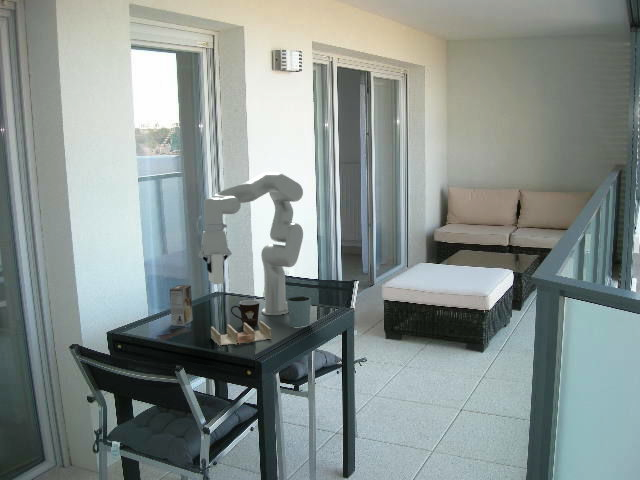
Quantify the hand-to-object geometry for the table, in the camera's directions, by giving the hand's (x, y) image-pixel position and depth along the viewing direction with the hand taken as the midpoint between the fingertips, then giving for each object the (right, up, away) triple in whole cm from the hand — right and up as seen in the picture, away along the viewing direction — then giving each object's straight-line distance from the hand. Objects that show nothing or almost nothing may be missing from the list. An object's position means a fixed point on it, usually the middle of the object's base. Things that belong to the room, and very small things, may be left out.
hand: (215, 271), depth 286 cm
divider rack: (+11, -27, -9) cm, 30 cm away
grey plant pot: (+34, -24, +9) cm, 43 cm away
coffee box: (-17, -24, +16) cm, 33 cm away
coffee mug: (+12, -24, +12) cm, 29 cm away
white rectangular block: (0, -4, +1) cm, 4 cm away
